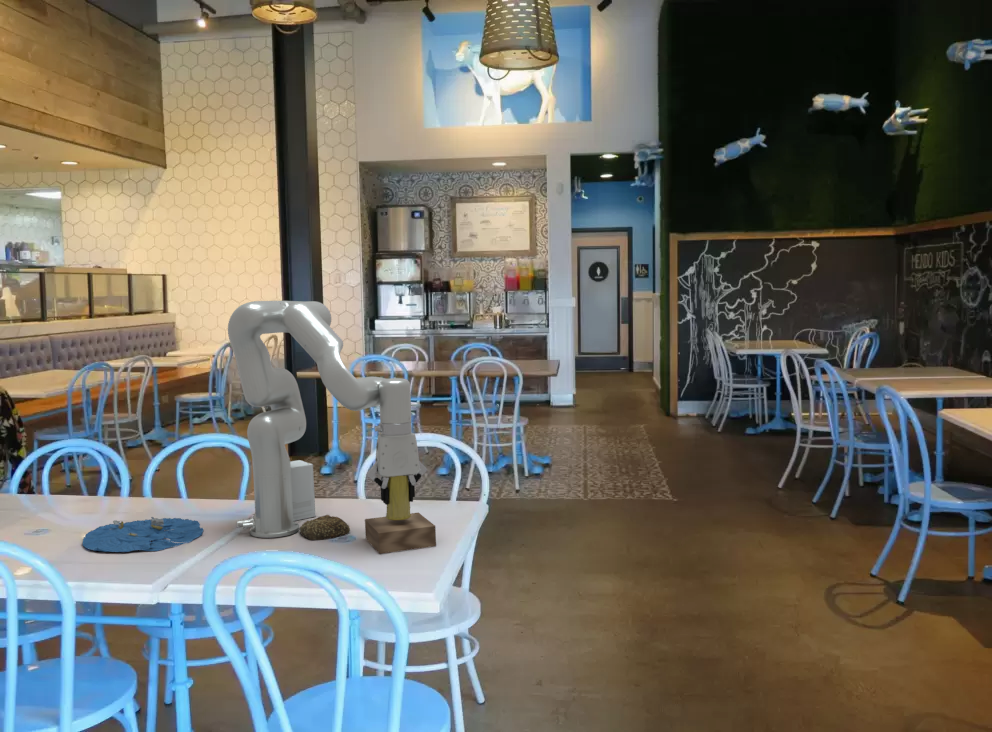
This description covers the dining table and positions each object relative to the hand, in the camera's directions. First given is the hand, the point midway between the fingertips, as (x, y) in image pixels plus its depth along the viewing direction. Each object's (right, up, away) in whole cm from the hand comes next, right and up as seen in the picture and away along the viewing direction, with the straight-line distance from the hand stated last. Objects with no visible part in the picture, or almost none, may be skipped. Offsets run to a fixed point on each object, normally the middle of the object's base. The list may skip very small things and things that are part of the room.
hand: (398, 501), depth 211 cm
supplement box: (-32, -9, +28) cm, 43 cm away
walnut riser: (0, -10, +1) cm, 10 cm away
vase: (0, -4, 0) cm, 4 cm away
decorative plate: (-66, -12, +12) cm, 69 cm away
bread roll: (-20, -10, +11) cm, 25 cm away
